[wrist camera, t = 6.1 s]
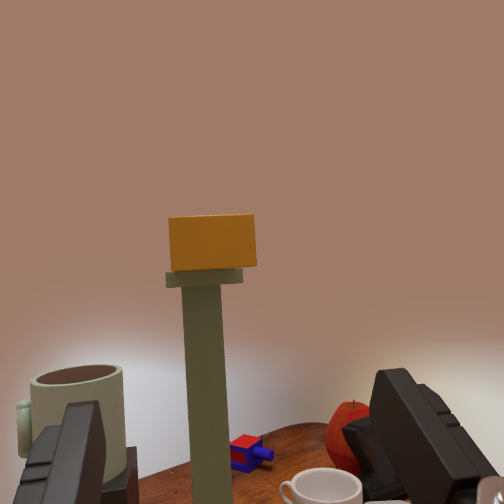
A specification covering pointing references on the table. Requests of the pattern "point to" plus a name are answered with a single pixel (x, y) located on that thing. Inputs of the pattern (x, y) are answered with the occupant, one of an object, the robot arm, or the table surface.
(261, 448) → the toy building block
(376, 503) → the grey smart device
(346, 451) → the apple
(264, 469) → the table surface
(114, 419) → the hollow cylinder with base
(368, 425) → the handgun
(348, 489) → the teacup
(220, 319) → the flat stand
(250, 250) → the rectangular block
